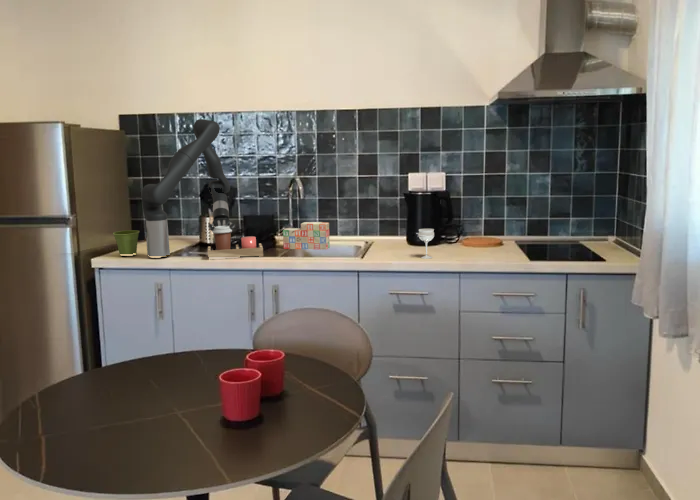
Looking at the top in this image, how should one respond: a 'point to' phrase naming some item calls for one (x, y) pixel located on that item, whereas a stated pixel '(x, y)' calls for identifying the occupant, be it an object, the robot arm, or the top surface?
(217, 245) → the coffee cup
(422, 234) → the wineglass
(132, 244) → the plant pot
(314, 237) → the stack of blocks
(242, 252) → the oak rack
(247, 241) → the red rounded block
